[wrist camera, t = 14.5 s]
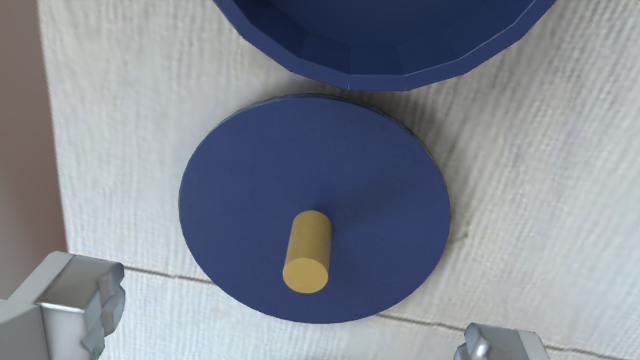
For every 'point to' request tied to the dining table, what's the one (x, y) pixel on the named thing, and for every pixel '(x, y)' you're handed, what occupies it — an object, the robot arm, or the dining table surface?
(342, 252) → the tin lid
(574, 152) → the dining table surface
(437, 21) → the cookie tin
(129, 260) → the dining table surface
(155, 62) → the dining table surface
